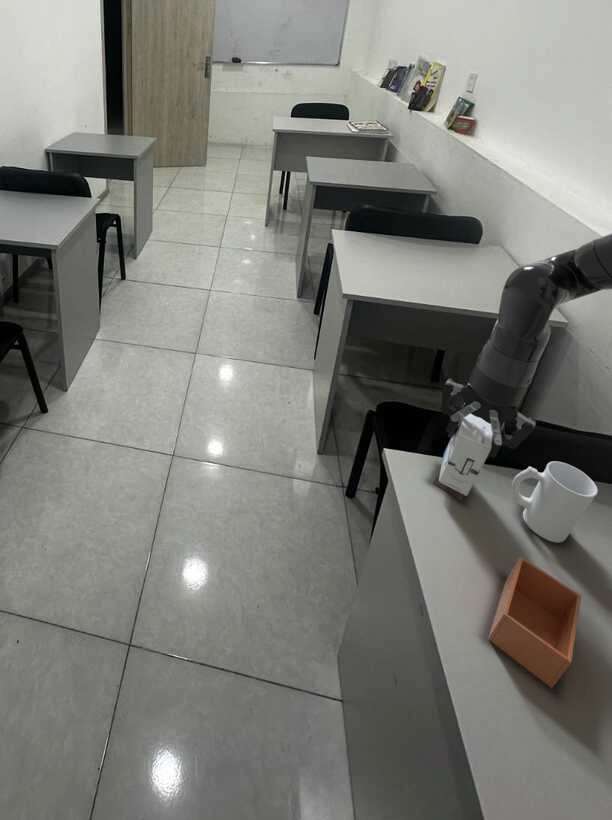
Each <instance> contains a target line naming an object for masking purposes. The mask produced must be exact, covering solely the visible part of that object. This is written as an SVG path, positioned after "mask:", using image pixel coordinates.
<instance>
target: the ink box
mask: <svg viewBox="0 0 612 820" xmlns="http://www.w3.org/2000/svg"><path fill="white" fill-rule="evenodd" d="M492 439H493V432H492V429H491V424H489V423H487V422H486V421H484V420H483V419H482V418H479V417H476V416H474V415H472V414H469V415H468V416H466V417H463V418H462V419H461V421H460V423H459V425H458V427H457V430H456V432H455V434H454V436H453V437H452V438H450V440H449V442H448V444H447V446H446V447H445V450H444V452H443V456H442V461H441V467H440V468H441V471H440V477H439V482H440V483H442V484H444V485H446V486H448V487H450V488H452V489H454V490H456V491H458V492H460V493H462V494H464V496H466V497H468V496H469V493H470V491H471V490H472V487H473V485H474V483H475V481H476V480H477V478H478V476H479V474H480V472H481V470H482V469H483V466H484V464H485V462H486V460H487V459H488V458H487V456H488V454H489V452H490V450H491V447H492V446H491V445H492Z"/></svg>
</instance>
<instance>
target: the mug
mask: <svg viewBox="0 0 612 820" xmlns="http://www.w3.org/2000/svg"><path fill="white" fill-rule="evenodd" d="M526 479H535V480H537V481H538V482H537V484H536V486H535V487H534V490H533V492H532V493H531V496H530V497H527V496H524V495H522V493H521V492H520V486H521V484H522V482H524V480H526ZM511 490H512V497H513V501H514V503H515V504H518V505H520V506H522V507H524V510H523V512H522V517H523V520H524V522H525V524H526V525H527V526H528V527H529V528H530V529H531V530H532V531H533V532H534V533H535V534H537V535H538V536H540V537H541V538H542V539H544V540H547V541H549V542H552V543H563V542H564V541H565V540H566V539H567V538H568V537H569V535H570V534H571V532H572V531H573V530H574V528H575V527H576V525H577V523H578V522H579V520H580V519H581V517H582V516H583V515H584V514H585V512H586V511H587V509H588V508H589V506H591V503H592V502H593V500H594V499H595V497H596V496H597V494H598V492H599V491H598V487H597V484H595V482H594V481H593V480H592V478H590V476H588V475H587V474H586V473H585V472H584V471H582V470H580V469H579V468H576V467H575V466H573V465H571V464H568V463H565V462H562V461H554V460H553V461H549V462H548V463H547V464H546V466H545V469H544V471H543V472H539V471H538V469H537V468H534V467H532V466H528V467H527V468H526V469H524V470H522V471H520V472H519V473H517V474H516V475H515V476H514V478H513V480H512V483H511Z"/></svg>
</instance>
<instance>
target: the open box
mask: <svg viewBox="0 0 612 820" xmlns="http://www.w3.org/2000/svg"><path fill="white" fill-rule="evenodd" d="M581 603H582V594H579V593H578V592H577V591H575V590H573V589H572V588H570V587H569V586H567V585H565V584H564V583H562V582H561V581H560V580H558V579H557V578H555V577H553V576H552V575H550V574H549V573H547V572H546V571H544V570H543V569H541V568H540V567H538V566H537V565H535V564H534V563H532V562H531V561H529V560H527V559H525V558H524V557H523V556H521V555H520V556H519V557H518V559H517V561H516V562H515V565H514V566H513V568H512V570H511V571H510V573H509V574H508V576H507V577H506V580H505V582H504V585H503V589H502V592H501V595H500V598H499V602H498V605H497V608H496V611H495V615H494V618H493V621H492V622H493V623H492V625H491V628H490V631H489V635H488V637H487V638H488V639H487V640H488V641H489V642H491V643H492V644H494V645H495V646H496V647H498V648H499V649H500V650H501V651H503V652H504V653H505V654H507V655H508V656H509V657H511V658H512V659H513V660H514V661H516V662H517V663H518V664H520V665H521V666H522V667H524V668H525V669H526V670H527V671H529V672H530V673H532V675H535V677H537V678H538V679H539V680H540V681H542V682H543V683H545V684H546V685H547V686H548V687H550V688H551V689H552V688H553V687H554V686H555V685H556V684H557V682H558V681H559V680H560V679H561V678H562V676H563V674H564V673H565V672H566V670H567V669H568V668H569V667H570V666H571V664H572V661H573V653H574V647H575V643H576V642H575V641H576V634H577V627H578V622H579V615H580V608H581Z"/></svg>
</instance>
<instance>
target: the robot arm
mask: <svg viewBox="0 0 612 820" xmlns="http://www.w3.org/2000/svg"><path fill="white" fill-rule="evenodd" d="M603 290H607V291H609V290H612V232H611V233H609V234H606V235H603V236H601V237H598V238H595V239H593V240H591V241H588V242H586V243H584V244H582V245H580V246H579V247H578V248H574V249H571V250H568V251H565V252H561V253H558V254H556V255H553V256H550V257H546V258H544V259H540V260H538V261H534V262H531V263H528V264H525V265H522V266H519V267H517V268H516V269H514V270H513V271H512V272H511V273H510V274H509V276H508V277H507V278H506V281H505V282H504V284H503V287H502V290H501V295H500V301H499V308H498V317H497V320H496V321H495V324H494V325H493V328H492V331H491V332H490V335H489V338H488V339H487V341H486V342H485V344H484V345H483V347H482V349H481V351H480V353H479V355H478V356H477V360H476V363H475V365H474V367H473V370H472V372H471V374H470V376H469V379H468V381H467V383H464V384H460V383H457V382H455V380H454V379H453V378H448V379H446V381H445V383H444V384H443V386H442V387H443V388H442V397H441V406H440V411H441V413H443V414H446V415H447V416H448V417H449V420H448V423H447V425H446V428H445V432H446V433H448V435H447V437H449V438H450V439H451V438H452V437H453V436H454V434H455V432H456V430H457V427H458V425H459V423H460V421H461V419H462V418H463V417H466V416H468V415H469V414H472V415H474V416H476V417H479V418H482V419H483V420H484V421H486V422H487V423H489V424H491V429H492V432H493V437H492V445H491V446H492V447H491V450H490V452H489V454H488V456H487V458H486V459H490V457H491V458H493V459H494V458H495V457H496V456H497V455H498V453H499V450H500V448H501V446H506V447H508V448H509V449H511V450H515V449H516V448H517V447H518V446H519V445H520V444H522V442H523V441H524V440H525V439H526V438H528V436H529V435H530V434H531V433H533V431H535V427H536V424H537V420H536V419H535V418H533V417H526V416H525V415H524V414H522V413H520V409H519V405H520V404H521V401H522V400H523V397H524V395H525V393H526V391H527V389H528V387H529V385H530V384H531V382H532V381H533V377H534V375H535V373H536V370H537V367H538V363H539V361H540V358H541V356H542V354H543V353H544V350H545V349H546V346H547V345H548V342H549V340H550V336H551V329H550V326H549V325H548V324H549V323H548V322H549V320H550V318H551V315H552V313H553V312H554V310H555V309H556V308H557V307H559V306H561V305H563V304H566V303H568V302H571V301H574V300H576V299H580V298H582V297H585V296H589V295H592V294H595V293H598V292H600V291H603ZM458 393H461V396H462V398H463V401H464V402H463V403H462V404H461V405H460V406H458V407H454V405H453V403H454V396H456V395H457V394H458ZM513 420H516V429H515V430H514V431H513V433H511V434H510V435H509V434H506V432H505V424H506V423H505V422H508V421H513Z"/></svg>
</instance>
